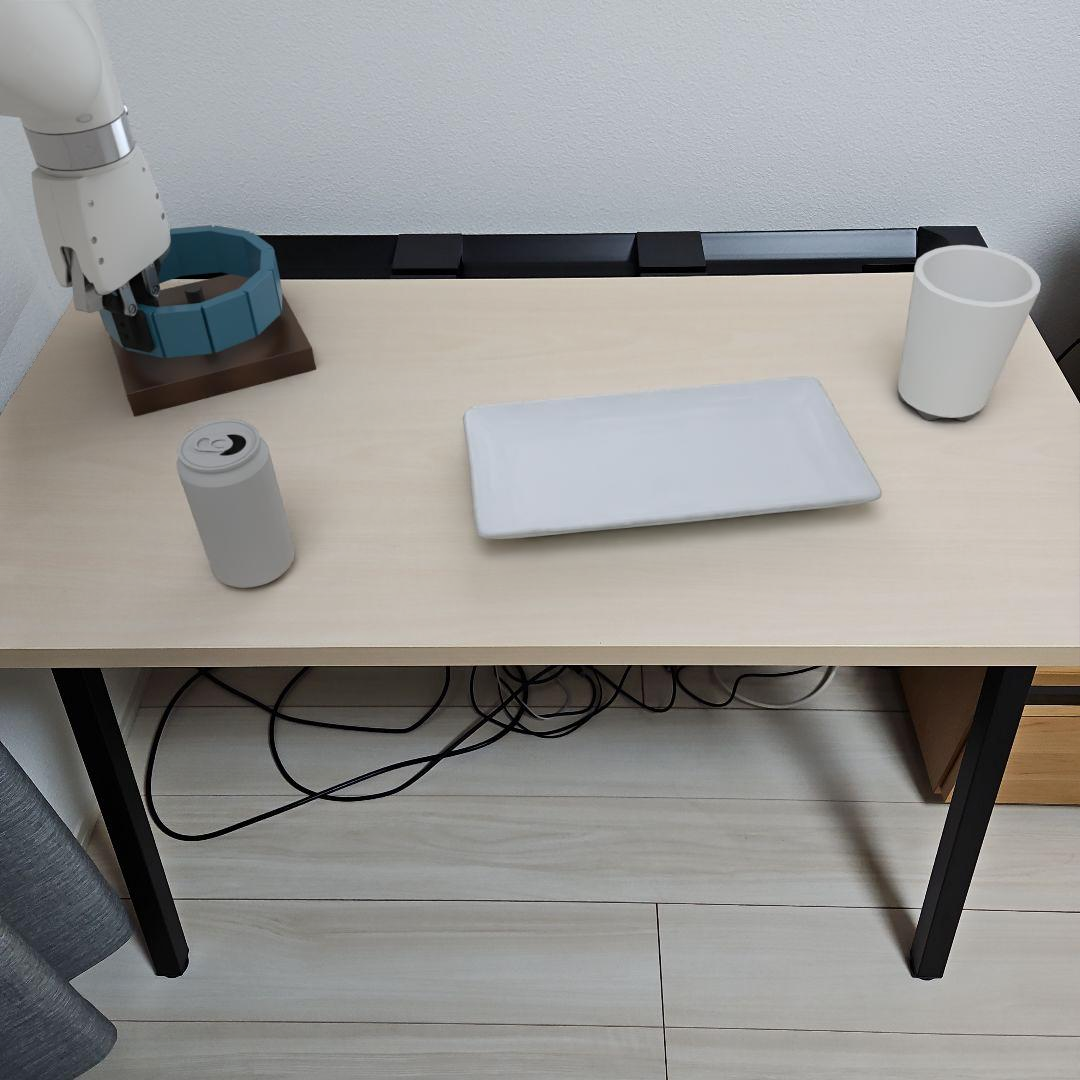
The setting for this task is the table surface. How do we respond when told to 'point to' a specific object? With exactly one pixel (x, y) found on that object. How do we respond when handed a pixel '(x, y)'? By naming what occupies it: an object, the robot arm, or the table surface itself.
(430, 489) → the table surface
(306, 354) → the platform
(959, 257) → the cup
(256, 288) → the ring
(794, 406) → the tray
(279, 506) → the beverage can
